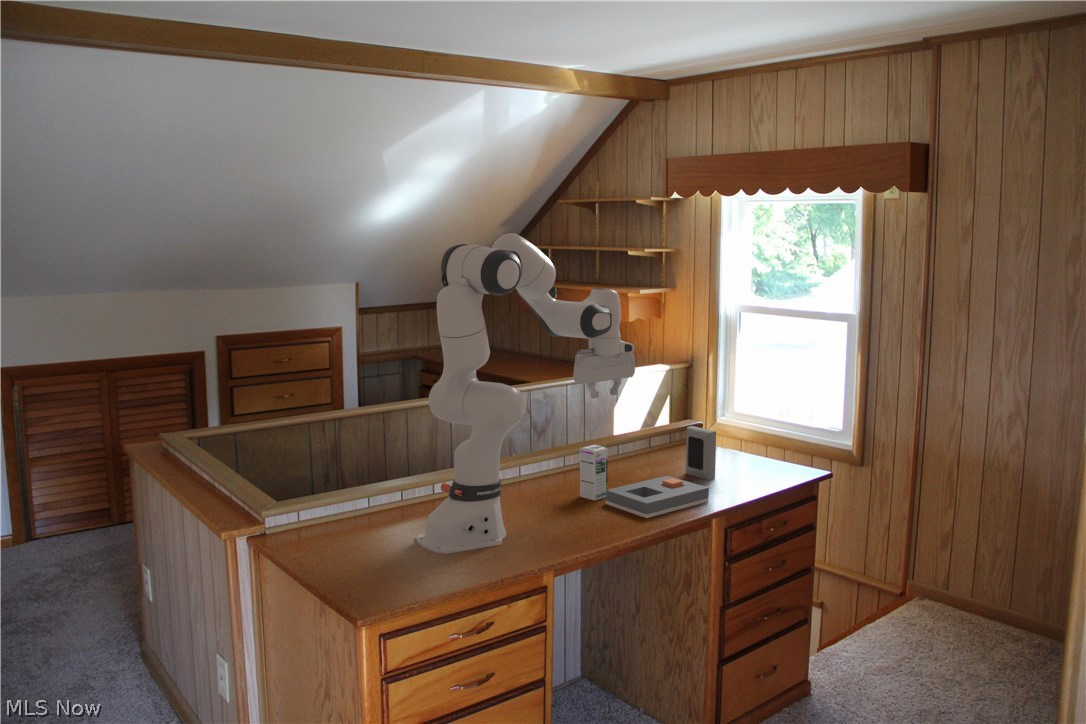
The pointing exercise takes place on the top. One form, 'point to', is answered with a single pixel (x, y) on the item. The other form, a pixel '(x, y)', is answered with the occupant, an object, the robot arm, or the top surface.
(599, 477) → the syrup box
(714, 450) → the grey upright rectangular block
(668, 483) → the orange block
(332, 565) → the top surface
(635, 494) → the grey two-pocket tray
